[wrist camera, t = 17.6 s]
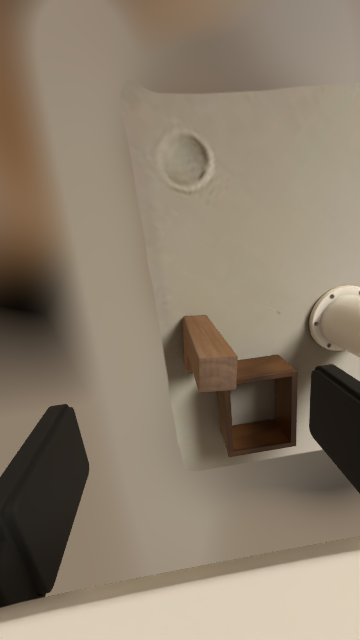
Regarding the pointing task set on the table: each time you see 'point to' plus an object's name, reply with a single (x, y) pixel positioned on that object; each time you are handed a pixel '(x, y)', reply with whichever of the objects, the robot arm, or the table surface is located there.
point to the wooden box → (268, 431)
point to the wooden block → (208, 355)
